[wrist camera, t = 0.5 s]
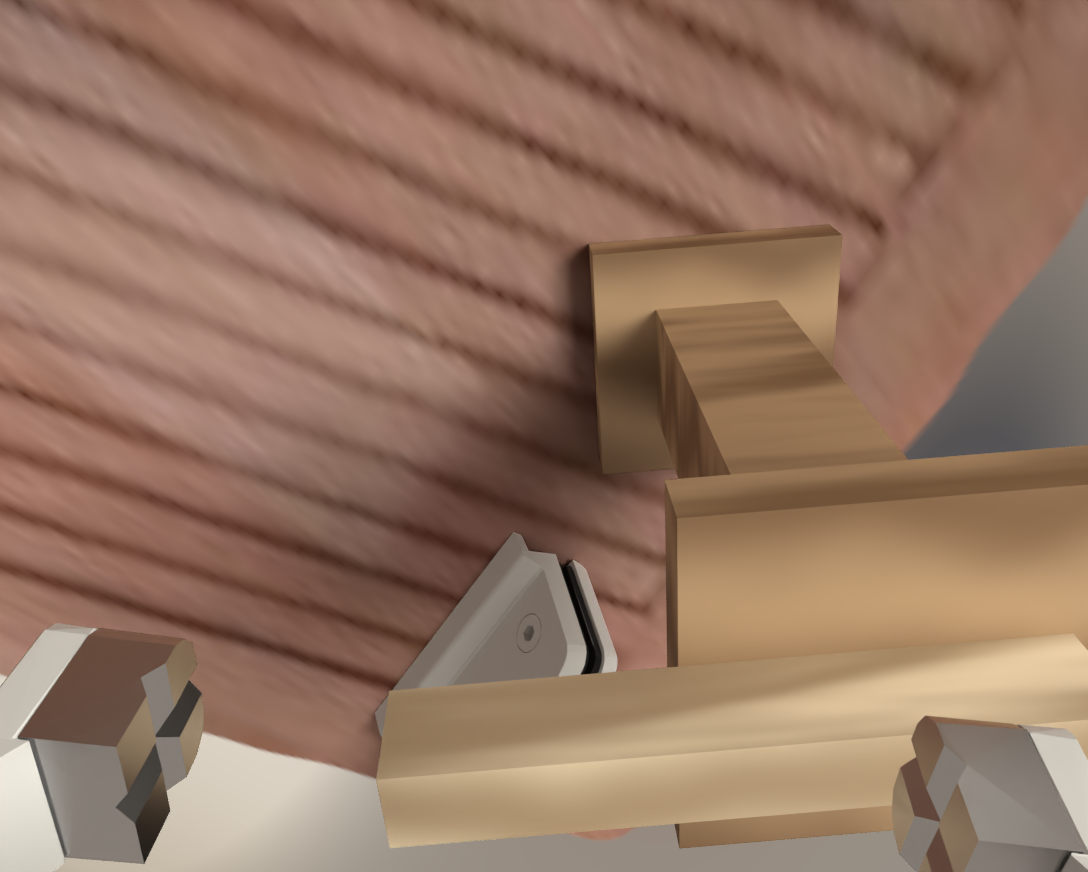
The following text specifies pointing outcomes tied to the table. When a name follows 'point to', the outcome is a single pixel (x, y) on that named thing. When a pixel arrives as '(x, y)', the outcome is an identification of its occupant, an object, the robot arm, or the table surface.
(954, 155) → the table surface
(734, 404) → the stand
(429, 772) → the batten
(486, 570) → the grey arched block
